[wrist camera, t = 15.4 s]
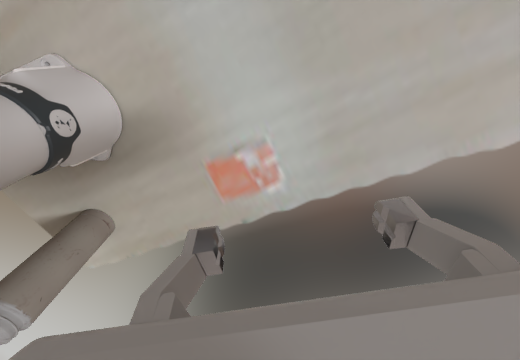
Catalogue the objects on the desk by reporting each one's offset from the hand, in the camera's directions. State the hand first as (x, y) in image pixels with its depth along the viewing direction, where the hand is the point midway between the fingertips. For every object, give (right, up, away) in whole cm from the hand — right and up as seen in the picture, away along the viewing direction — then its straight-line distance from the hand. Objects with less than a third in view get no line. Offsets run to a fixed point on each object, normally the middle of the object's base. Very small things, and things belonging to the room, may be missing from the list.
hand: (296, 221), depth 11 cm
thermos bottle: (-41, -8, +42) cm, 59 cm away
